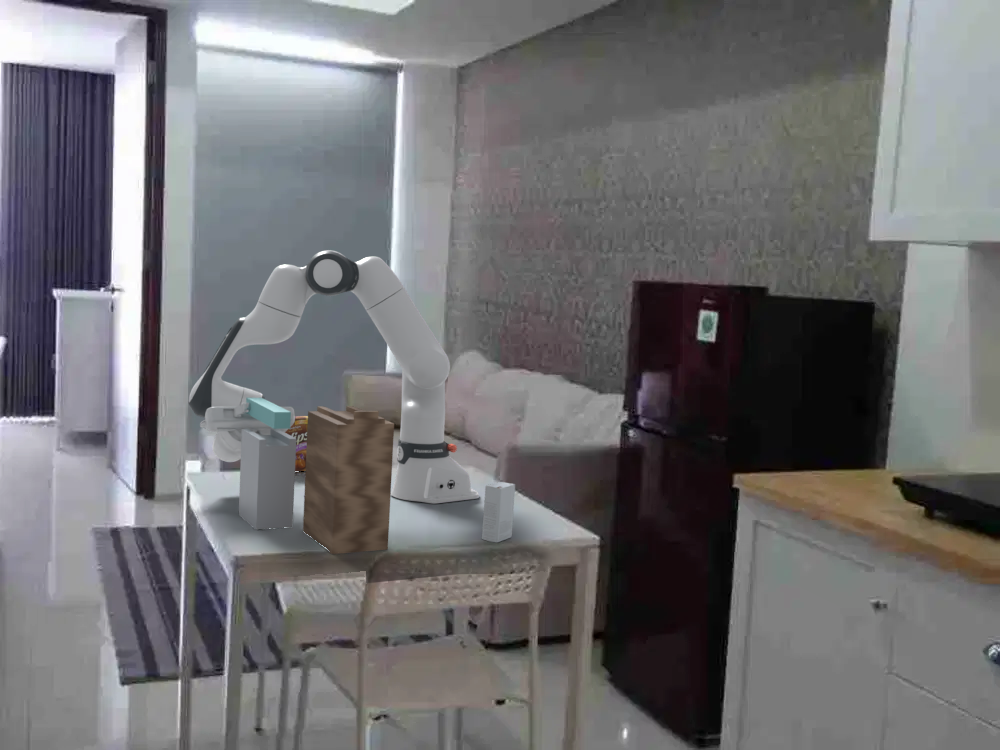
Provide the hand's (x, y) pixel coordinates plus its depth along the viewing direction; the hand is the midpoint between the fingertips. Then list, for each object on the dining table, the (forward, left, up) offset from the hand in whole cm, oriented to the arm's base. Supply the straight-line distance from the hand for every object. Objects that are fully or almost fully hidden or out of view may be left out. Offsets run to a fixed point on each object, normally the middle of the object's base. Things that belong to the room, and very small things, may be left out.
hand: (258, 405), depth 232 cm
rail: (0, +7, -2) cm, 8 cm away
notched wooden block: (-11, +28, -25) cm, 39 cm away
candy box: (-22, -43, -25) cm, 54 cm away
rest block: (0, +8, -25) cm, 26 cm away
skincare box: (-43, +36, -25) cm, 62 cm away
